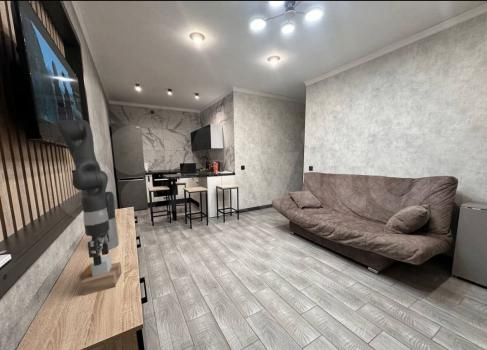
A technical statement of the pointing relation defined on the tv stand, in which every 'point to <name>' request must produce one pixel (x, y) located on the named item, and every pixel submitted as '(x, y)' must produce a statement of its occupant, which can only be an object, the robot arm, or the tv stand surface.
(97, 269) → the grey cube
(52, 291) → the tv stand surface
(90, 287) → the tan square block
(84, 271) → the pastry
